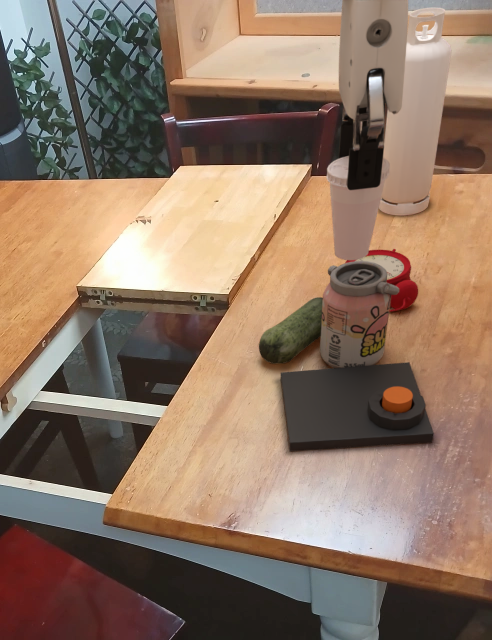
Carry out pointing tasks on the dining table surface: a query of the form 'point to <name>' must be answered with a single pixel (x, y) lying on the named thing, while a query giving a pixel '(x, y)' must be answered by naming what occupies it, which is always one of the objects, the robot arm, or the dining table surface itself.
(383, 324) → the beverage can
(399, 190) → the bottle
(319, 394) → the grey button plate
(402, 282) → the alarm clock
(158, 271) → the dining table surface
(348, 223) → the smoothie
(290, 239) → the dining table surface
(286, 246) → the dining table surface
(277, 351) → the vegetable
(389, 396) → the button
